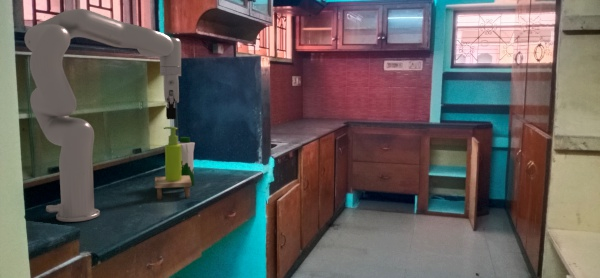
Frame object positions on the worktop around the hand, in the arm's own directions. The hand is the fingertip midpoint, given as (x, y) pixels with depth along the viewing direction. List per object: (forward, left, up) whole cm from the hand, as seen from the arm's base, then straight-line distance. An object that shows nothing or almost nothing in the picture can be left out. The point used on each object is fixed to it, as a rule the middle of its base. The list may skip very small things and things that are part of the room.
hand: (170, 118), depth 178 cm
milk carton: (+4, +15, -30) cm, 34 cm away
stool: (0, 0, -30) cm, 30 cm away
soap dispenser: (0, +1, -24) cm, 24 cm away
